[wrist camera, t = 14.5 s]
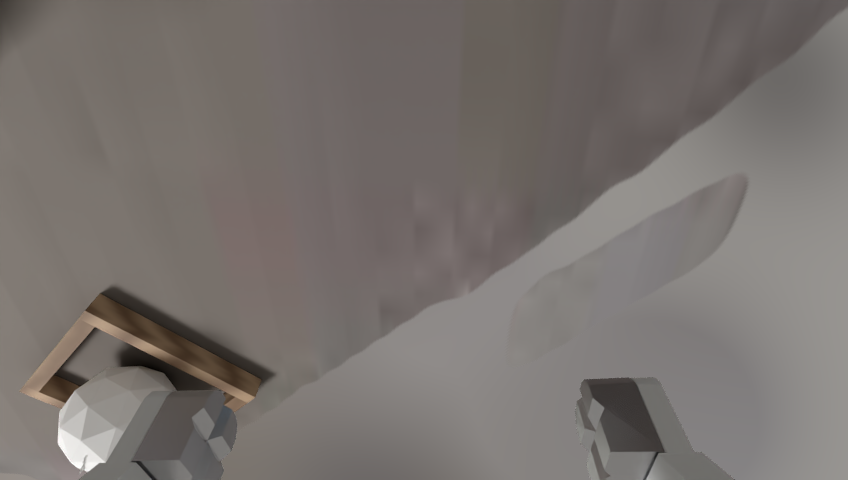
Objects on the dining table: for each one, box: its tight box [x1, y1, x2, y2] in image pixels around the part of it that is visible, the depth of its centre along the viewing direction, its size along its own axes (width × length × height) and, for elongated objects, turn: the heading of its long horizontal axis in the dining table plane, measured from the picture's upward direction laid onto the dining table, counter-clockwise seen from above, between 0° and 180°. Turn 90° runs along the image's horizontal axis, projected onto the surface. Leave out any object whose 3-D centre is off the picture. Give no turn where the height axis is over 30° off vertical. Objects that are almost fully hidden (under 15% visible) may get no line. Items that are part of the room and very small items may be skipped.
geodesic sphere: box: [58, 366, 177, 474], centre depth 61 cm, size 15×14×14 cm
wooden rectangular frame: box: [19, 294, 261, 412], centre depth 65 cm, size 24×24×3 cm
